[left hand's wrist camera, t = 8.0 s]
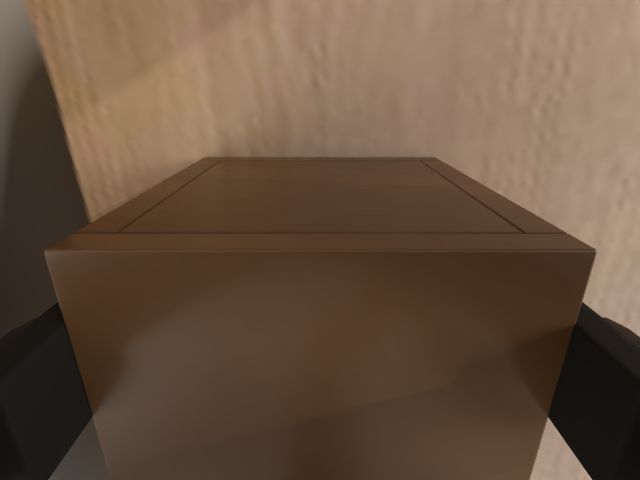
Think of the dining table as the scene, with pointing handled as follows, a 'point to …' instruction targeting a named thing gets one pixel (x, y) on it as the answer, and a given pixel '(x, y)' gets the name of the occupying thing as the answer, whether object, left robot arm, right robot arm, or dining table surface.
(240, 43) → the dining table surface
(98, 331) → the cabinet
